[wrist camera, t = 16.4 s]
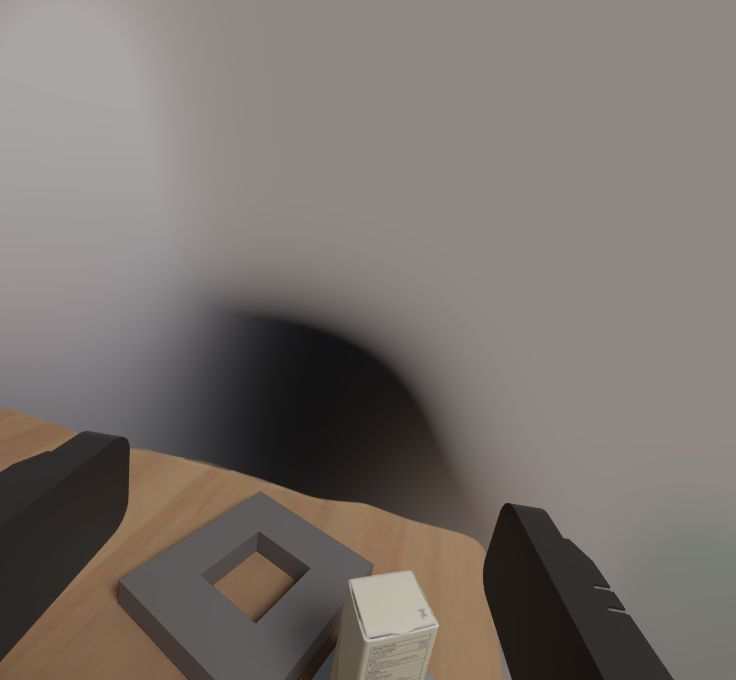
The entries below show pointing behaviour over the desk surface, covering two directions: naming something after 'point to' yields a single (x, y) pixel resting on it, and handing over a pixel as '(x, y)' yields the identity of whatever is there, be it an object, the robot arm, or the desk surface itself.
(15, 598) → the robot arm
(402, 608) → the box
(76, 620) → the desk surface
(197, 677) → the socket block
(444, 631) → the desk surface
